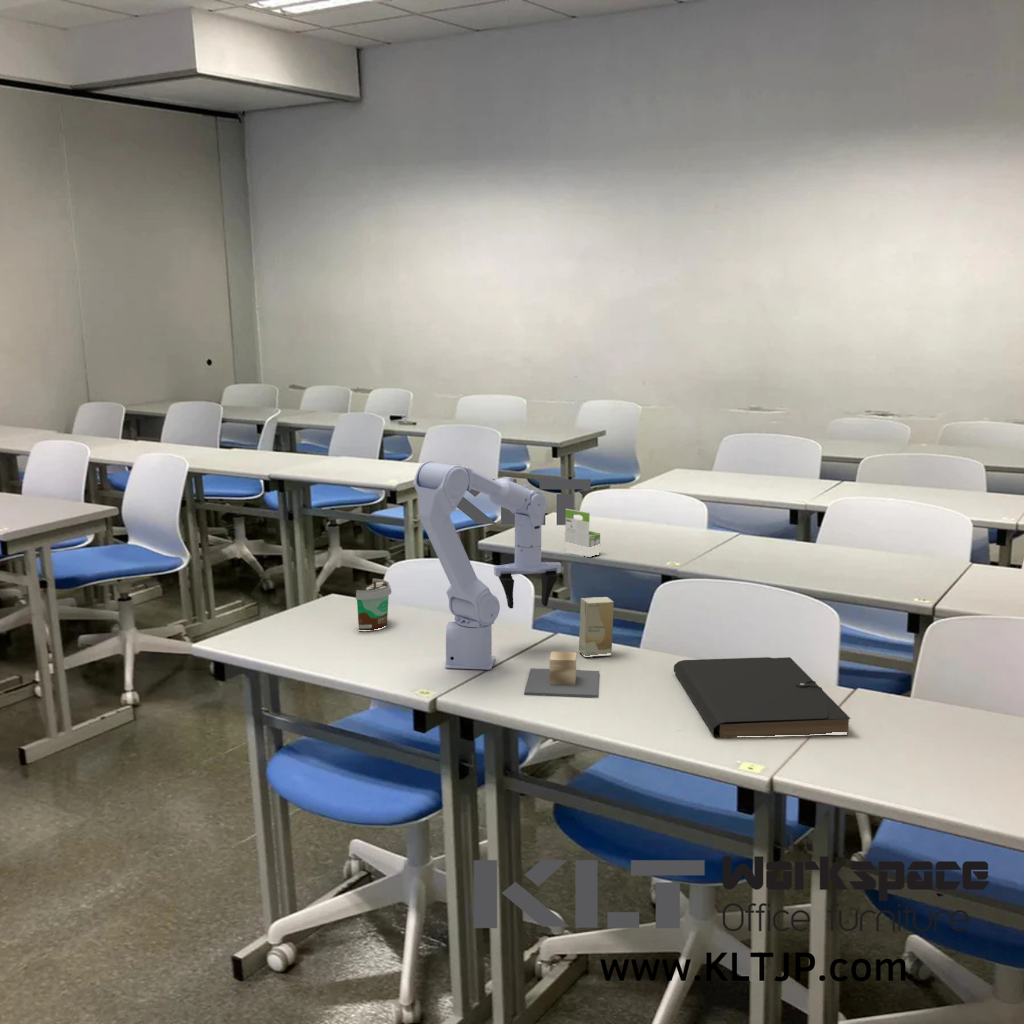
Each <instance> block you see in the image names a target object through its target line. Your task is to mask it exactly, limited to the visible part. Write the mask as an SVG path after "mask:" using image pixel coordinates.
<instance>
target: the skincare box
mask: <svg viewBox="0 0 1024 1024" xmlns="http://www.w3.org/2000/svg"><path fill="white" fill-rule="evenodd" d="M614 603H615V602H614V601H613V600H612V599H611V598H610V597H608V596H601V597H599V596H598V597H596V596H595V597H594V596H593V597H585V598H584V597H581V598H580V608H579V609H580V611H579V612H580V617H579V637H578V639H579V640H578V643H579V644H578V652H579V651H580V652H581V653H582V654H583V655H585V656H590V655H598V654H607V653H613V651H612V649H613V647H612V646H613V630H614V629H613V628H614V627H613V625H614Z"/></svg>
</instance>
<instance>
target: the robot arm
mask: <svg viewBox="0 0 1024 1024" xmlns="http://www.w3.org/2000/svg"><path fill="white" fill-rule="evenodd" d="M412 484H413V487H414V489H415V492H416V493H417V499H418V501H417V502H418V513H419V518H420V521H421V524H422V525H423V527H424V530H425V532H426V535H427V537H428V538H429V540H430V542H431V545H432V547H433V549H434V551H435V553H436V556H437V558H438V560H439V562H440V564H441V566H442V567H441V568H442V569H443V571H444V573H445V575H446V577H447V580H448V581H449V584H450V586H449V587H448V588H447V591H446V595H447V597H448V608H449V612H450V613H451V614H452V615H453V616H454V621H448V622H447V625H446V629H445V630H446V631H445V668H446V669H462V670H487V671H489V670H492V668H493V665H494V663H495V659H496V656H495V655H493V654H492V651H493V649H492V647H493V645H492V642H493V640H492V639H493V638H492V637H493V636H492V635H493V634H492V632H493V630H492V629H493V627H492V625H494V624H495V621H496V620H497V618H498V617H499V614H500V610H501V608H500V607H501V606H500V601H499V599H498V597H497V596H496V595H494V594H493V593H492V592H491V591H490V588H489V587H488V585H486V584H485V583H484V582H483V581H482V580H480V579H479V578H478V576H477V575H476V573H475V569H474V568H473V566H472V564H471V561H470V559H469V557H468V554H467V552H466V550H465V547H464V545H463V543H462V541H461V539H460V536H459V534H458V532H457V530H456V528H455V527H456V526H455V525H454V523H453V520H452V518H451V514H452V513H454V511H455V510H456V509H457V507H458V506H459V504H460V502H461V500H462V499H463V497H464V495H465V494H466V492H467V491H468V492H470V491H471V490H474V491H477V492H479V493H482V494H485V495H488V498H489V500H490V502H491V503H492V504H494V505H496V506H499V507H501V508H504V509H506V510H507V511H508V510H509V511H510V513H512V514H513V515H514V562H513V563H507V564H501V565H500V564H499V565H497V564H496V565H493V574H494V576H495V577H497V578H498V580H499V581H500V584H501V585H502V588H503V591H504V593H505V598H506V603H507V607H508V608H509V609H514V587H515V579H513V576H514V575H529V574H531V575H532V574H540V578H541V605H542V606H544V607H548V604H549V601H550V596H551V592H552V590H553V589H554V586H555V584H556V582H557V581H558V579H559V578H558V577H559V574H560V573H562V563H560V562H559V561H557V562H555V561H554V562H553V561H552V562H551V561H550V562H549V561H542V525H543V524H544V520H545V519H544V518H545V514H546V513H547V510H548V508H549V507H548V505H549V503H548V502H547V499H546V497H545V496H544V494H543V492H541V491H539V490H534V489H533V490H532V489H529V488H528V487H529V486H528V485H526V484H518V483H517V482H514V478H512V477H510V476H508V477H507V476H504V477H500V478H497V479H493V478H490V477H489V476H486V475H485V474H483V473H480V472H478V471H476V470H474V469H473V468H469V467H464V466H462V465H457V464H456V465H454V464H453V465H452V464H447V463H446V464H445V463H440V462H435V461H432V460H431V461H430V460H427V461H424V462H423V463H421V464H420V465H419V467H418V468H417V470H416V473H415V476H414V479H413V482H412Z"/></svg>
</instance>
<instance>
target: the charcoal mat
mask: <svg viewBox="0 0 1024 1024" xmlns="http://www.w3.org/2000/svg"><path fill="white" fill-rule="evenodd" d="M599 681H600V671H599V670H589V669H588V670H587V669H586V670H584V669H583V670H581V669H576V681H575V685H561V684H549V683H550V668H535V667H534V668H532V667H531V668H529V673H528V677H527V679H526V685H525V687H524V688H525V689H524V692H523V695H524V696H543V695H545V696H547V697H548V696H549V697H571V698H592V697H598V696H599V684H598V683H600V682H599ZM598 698H599V697H598Z"/></svg>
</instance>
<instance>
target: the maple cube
mask: <svg viewBox="0 0 1024 1024" xmlns="http://www.w3.org/2000/svg"><path fill="white" fill-rule="evenodd" d="M549 669H550V683H549V684H561V685H575V681H576V670H577V652H574V651H573V652H572V651H551V653H550V657H549Z"/></svg>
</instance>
